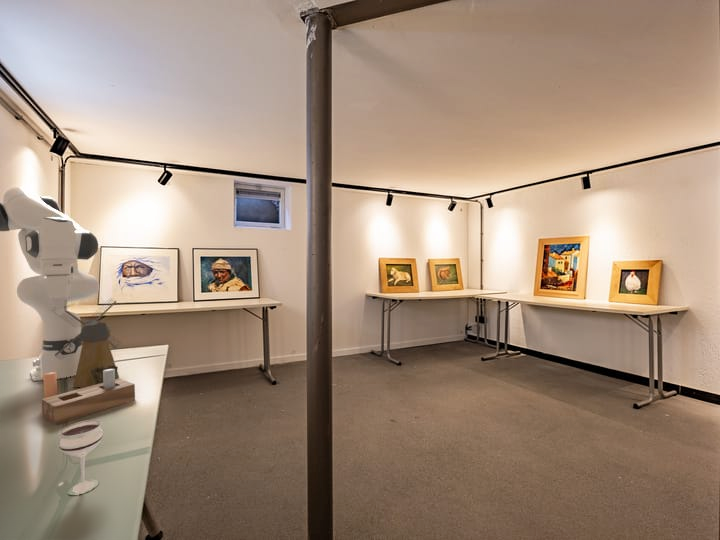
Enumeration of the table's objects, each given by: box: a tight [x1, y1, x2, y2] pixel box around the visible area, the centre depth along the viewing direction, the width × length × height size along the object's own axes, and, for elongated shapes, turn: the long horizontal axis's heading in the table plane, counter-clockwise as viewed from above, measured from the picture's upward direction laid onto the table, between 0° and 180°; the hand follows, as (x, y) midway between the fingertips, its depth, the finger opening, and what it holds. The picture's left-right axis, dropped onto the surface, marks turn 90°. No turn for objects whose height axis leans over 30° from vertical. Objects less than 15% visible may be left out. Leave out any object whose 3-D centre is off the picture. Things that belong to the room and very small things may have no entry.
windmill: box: [51, 297, 122, 389], centre depth 129 cm, size 21×14×30 cm, turn 148°
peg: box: [43, 372, 58, 399], centre depth 108 cm, size 3×3×10 cm
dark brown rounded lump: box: [91, 364, 118, 385], centre depth 120 cm, size 8×7×8 cm
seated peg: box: [103, 369, 115, 390], centre depth 111 cm, size 3×3×10 cm
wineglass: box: [58, 419, 104, 493], centre depth 69 cm, size 7×7×12 cm
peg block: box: [41, 377, 136, 426], centre depth 107 cm, size 10×20×5 cm, turn 147°
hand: (61, 312), depth 111 cm, fingers open, 8 cm apart
